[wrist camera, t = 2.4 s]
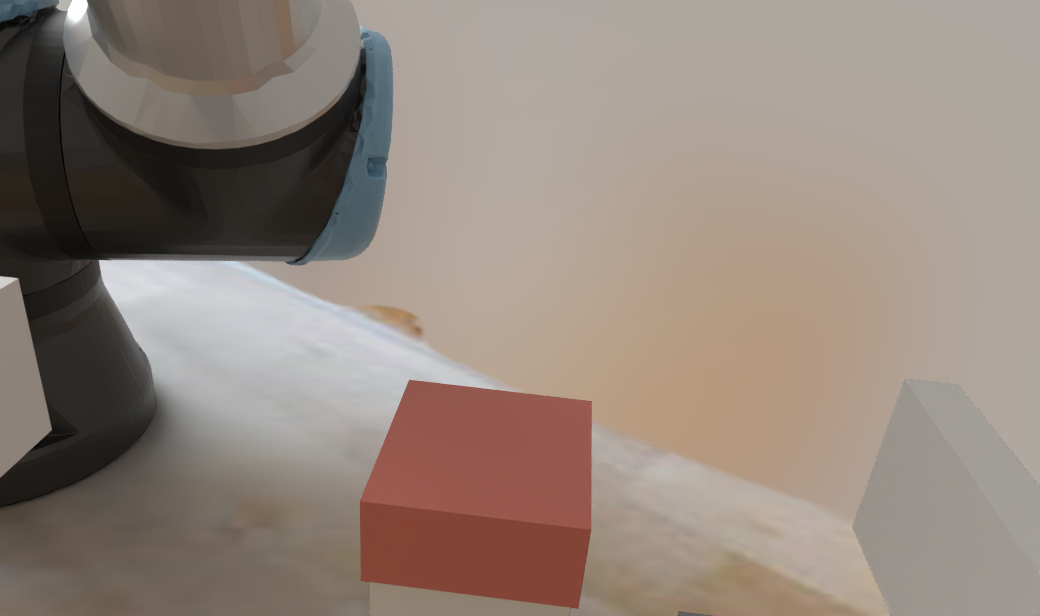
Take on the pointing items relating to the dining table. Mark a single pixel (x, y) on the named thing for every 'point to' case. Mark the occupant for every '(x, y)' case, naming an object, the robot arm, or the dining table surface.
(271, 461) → the dining table surface
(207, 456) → the dining table surface
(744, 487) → the dining table surface
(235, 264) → the dining table surface
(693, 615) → the grey flat board
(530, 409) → the block
